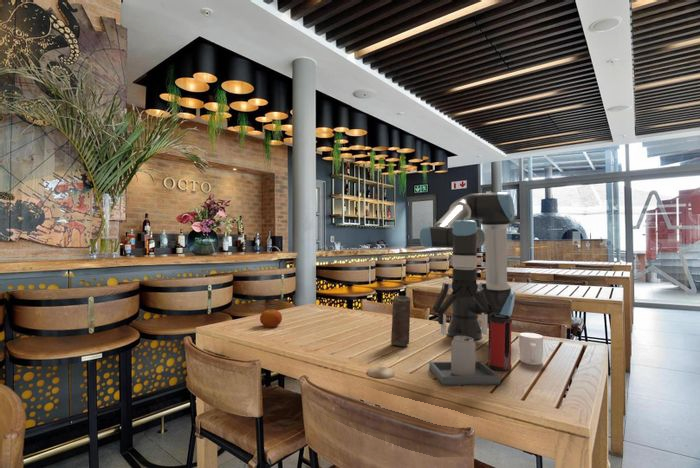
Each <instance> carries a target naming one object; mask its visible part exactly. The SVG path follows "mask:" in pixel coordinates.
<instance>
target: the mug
mask: <svg viewBox="0 0 700 468" xmlns="http://www.w3.org/2000/svg"><path fill="white" fill-rule="evenodd" d="M518 336H519V338H518V347H519V361H521V362H522V363H524V364H527V365H532V366H536V365H537V366H540V365H542V364H543V356H544V336H543V335H541V334H538V333H533V332H521V333H519V335H518Z"/></svg>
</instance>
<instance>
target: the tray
mask: <svg viewBox="0 0 700 468" xmlns="http://www.w3.org/2000/svg"><path fill="white" fill-rule="evenodd" d="M428 363H429V366H428V368H429V371H430V372H431V374H432V375H433V376H434V378H436V381H438V382H439V384H440V385H441V386H443V387H448V386H449V387H451V386H452V387H453V386H455V387H456V386H463V387H464V386H466V387H467V386H501V376H500V375H499V374H497V373H496V372H495V371H494V370H493V369H491V368H490V367H488V365H486V364H485V363H484V362H482V361H479V360H478V361H477V360H475V375H474V376H455V375H454V374H453V373H452V372H451V361H429V362H428Z"/></svg>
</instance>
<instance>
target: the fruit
mask: <svg viewBox="0 0 700 468" xmlns="http://www.w3.org/2000/svg"><path fill="white" fill-rule="evenodd" d="M259 320H260V323H261V325H262V326H263V327H266V328H276V327H278V326H279V325H281V322H282V320H283V315H282V313H281V312H280V311H279V310H277V309H266V310H264V311H262V312H261V313H260V316H259Z"/></svg>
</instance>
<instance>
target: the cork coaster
mask: <svg viewBox="0 0 700 468" xmlns="http://www.w3.org/2000/svg"><path fill="white" fill-rule="evenodd" d="M395 373H396V371H395V370H394V369H393V368H391V367H386V366H374V367H373V366H372V367H370V368H368V369H367V371H366V374H367V375H368V376H369V377H373V378H376V379H390V378H393V377H394V376H395Z"/></svg>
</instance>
